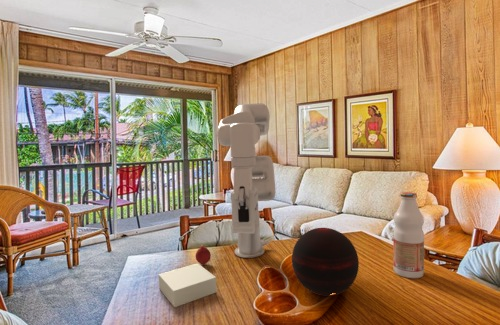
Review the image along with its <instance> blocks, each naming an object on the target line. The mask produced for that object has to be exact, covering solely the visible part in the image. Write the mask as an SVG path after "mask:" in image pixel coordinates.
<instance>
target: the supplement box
mask: <svg viewBox="0 0 500 325" xmlns="http://www.w3.org/2000/svg"><path fill="white" fill-rule="evenodd" d="M244 192H245V191H244ZM230 199H231V200H230V201H231V203H230V204H231V222H232V225H231V227H232V233H233V234H238V233H249V234H255V232H256V230H257V228H258V227H259V221H260V217H259V218H258V210H259V201H258V189H252V191H251V193H250V199H249V200H248V209H249V222H239V221H238V201H239V196H238V199H236V201H235V200H234V191H233V192H231V193H230ZM244 199H246V194H245V193H244ZM244 202H245V204H246V201H244Z"/></svg>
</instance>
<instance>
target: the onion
mask: <svg viewBox="0 0 500 325" xmlns="http://www.w3.org/2000/svg"><path fill="white" fill-rule="evenodd" d="M211 258H212V256H211V251H210V250H209V249H208V248H207V247H206V246H204V245H203V244H201V245H200V248H198V249H197V251H196V253H195V260H196V261H197V263H198V264H199V265H201V266H205V265H206V264H207V263H209V262H210V260H211Z"/></svg>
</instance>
